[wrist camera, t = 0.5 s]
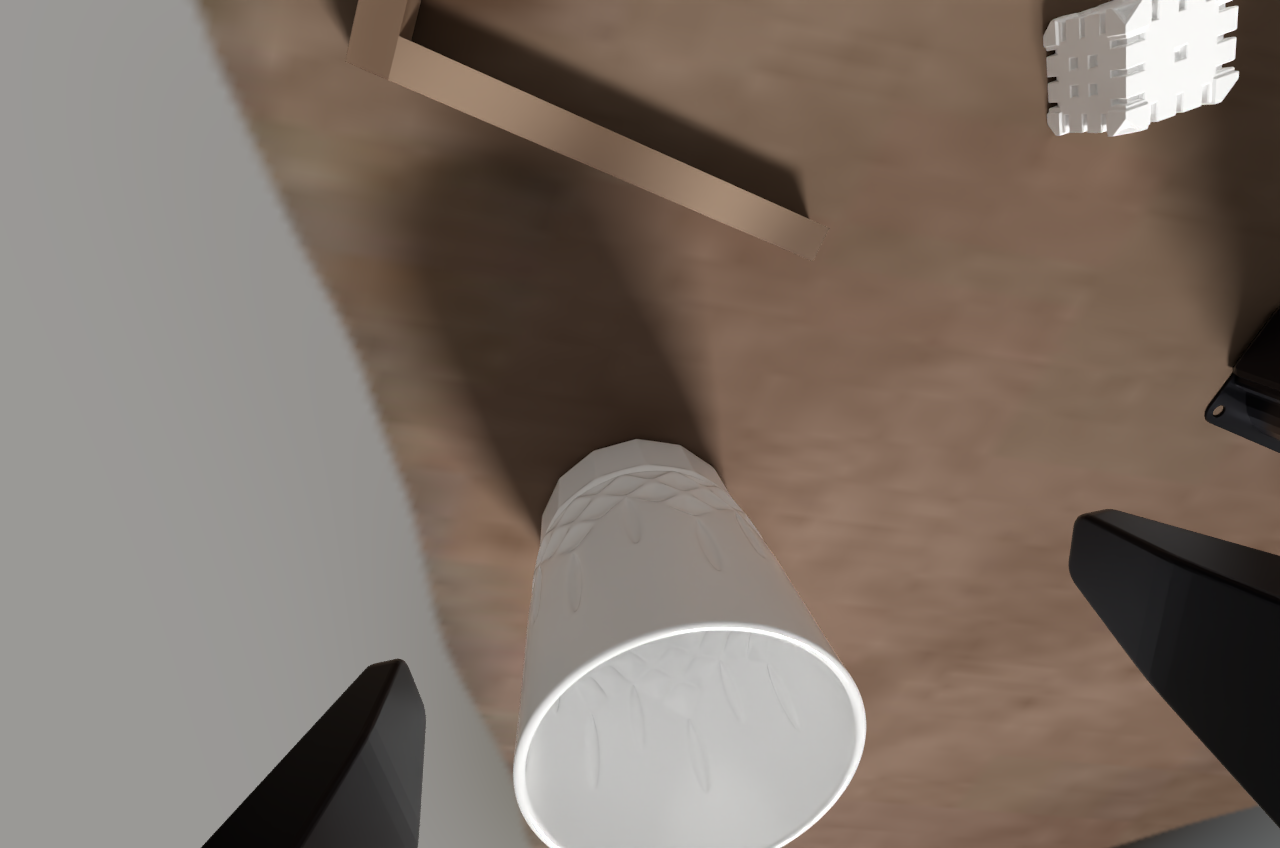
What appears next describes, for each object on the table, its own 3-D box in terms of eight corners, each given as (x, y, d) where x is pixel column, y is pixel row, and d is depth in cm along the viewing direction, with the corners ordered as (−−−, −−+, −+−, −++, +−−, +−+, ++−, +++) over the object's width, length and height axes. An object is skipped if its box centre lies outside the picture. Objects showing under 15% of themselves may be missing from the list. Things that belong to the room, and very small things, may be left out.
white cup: (685, 633, 26) (761, 902, 17) (492, 578, 24) (460, 853, 15) (783, 466, 24) (934, 676, 14) (578, 387, 21) (603, 576, 12)
